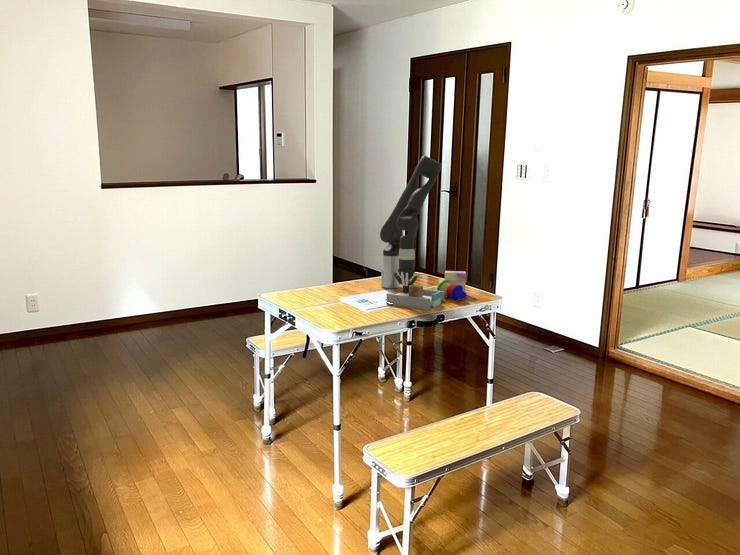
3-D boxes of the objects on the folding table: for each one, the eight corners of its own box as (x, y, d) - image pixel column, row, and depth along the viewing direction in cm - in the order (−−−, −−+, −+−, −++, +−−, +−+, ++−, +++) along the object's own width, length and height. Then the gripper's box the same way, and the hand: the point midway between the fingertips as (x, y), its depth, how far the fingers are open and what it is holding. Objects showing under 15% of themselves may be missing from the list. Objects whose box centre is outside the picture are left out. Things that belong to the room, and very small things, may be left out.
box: (464, 293, 317) (465, 271, 314) (465, 296, 311) (466, 273, 309) (444, 293, 318) (444, 270, 315) (444, 295, 312) (445, 272, 310)
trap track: (386, 304, 295) (386, 291, 293) (403, 296, 310) (404, 284, 309) (429, 310, 284) (429, 297, 283) (444, 301, 300) (445, 289, 298)
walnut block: (408, 297, 295) (409, 287, 294) (413, 295, 300) (413, 285, 299) (418, 298, 293) (418, 288, 292) (422, 296, 297) (423, 286, 296)
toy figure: (465, 305, 303) (442, 294, 313) (470, 286, 301) (446, 277, 311) (454, 306, 297) (431, 295, 307) (459, 287, 294) (435, 277, 304)
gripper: (390, 257, 295) (390, 293, 299) (415, 260, 289) (414, 296, 292) (398, 255, 301) (397, 290, 305) (422, 258, 295) (421, 293, 298)
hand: (405, 293), depth 298 cm, fingers closed
